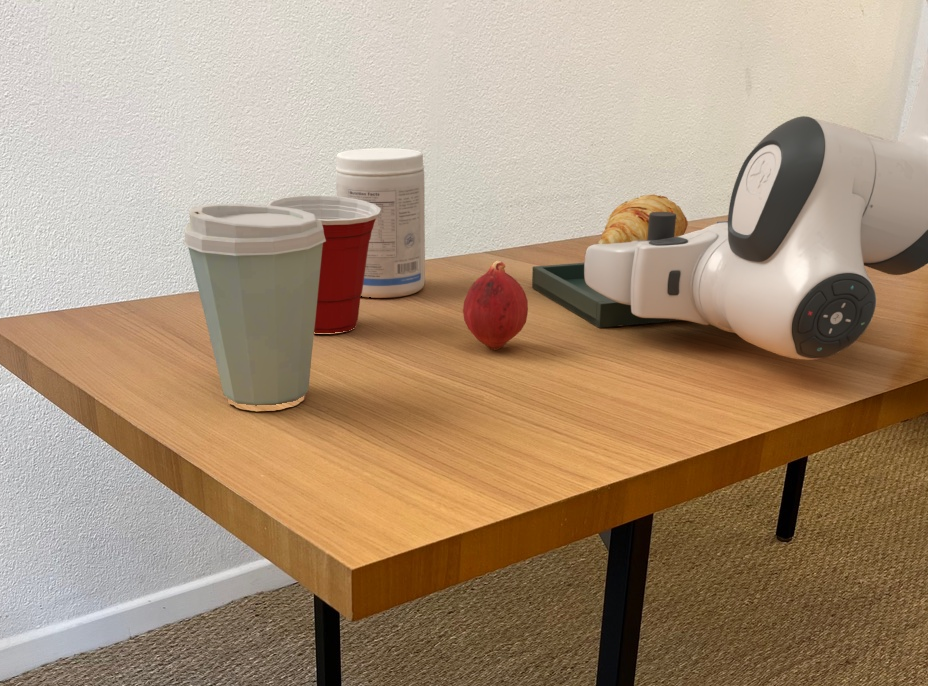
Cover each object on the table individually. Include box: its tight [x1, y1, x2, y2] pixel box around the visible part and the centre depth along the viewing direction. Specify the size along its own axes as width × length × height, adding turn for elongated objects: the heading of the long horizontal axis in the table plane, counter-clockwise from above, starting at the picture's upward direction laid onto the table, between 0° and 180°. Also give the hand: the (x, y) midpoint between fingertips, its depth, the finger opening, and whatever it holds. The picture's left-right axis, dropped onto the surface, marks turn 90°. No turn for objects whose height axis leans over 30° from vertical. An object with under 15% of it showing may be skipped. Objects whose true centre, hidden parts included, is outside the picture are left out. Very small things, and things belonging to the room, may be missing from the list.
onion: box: [462, 260, 529, 350], centre depth 94 cm, size 6×6×8 cm
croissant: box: [597, 194, 689, 244], centre depth 135 cm, size 21×10×8 cm, turn 142°
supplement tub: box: [335, 147, 426, 299], centre depth 115 cm, size 10×10×15 cm
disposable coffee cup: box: [183, 203, 326, 406], centre depth 81 cm, size 11×11×15 cm
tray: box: [531, 212, 682, 329], centre depth 110 cm, size 16×18×10 cm
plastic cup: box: [266, 195, 381, 333], centre depth 101 cm, size 11×11×12 cm
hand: (654, 247), depth 106 cm, fingers closed on tray, 2 cm apart
